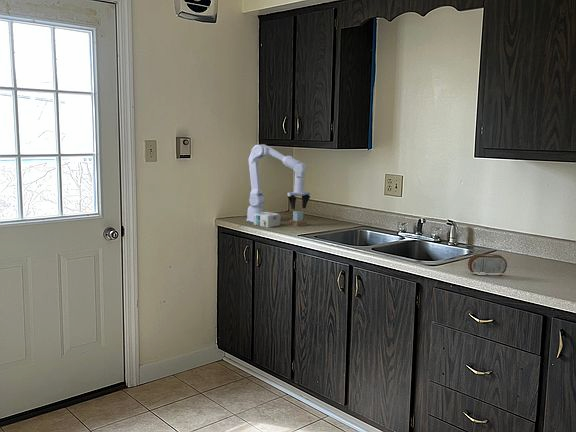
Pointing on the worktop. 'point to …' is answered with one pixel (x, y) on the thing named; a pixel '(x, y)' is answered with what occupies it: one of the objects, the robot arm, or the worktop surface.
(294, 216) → the blue block
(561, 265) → the worktop surface
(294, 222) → the walnut slab
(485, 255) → the tin
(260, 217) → the light bulb box
